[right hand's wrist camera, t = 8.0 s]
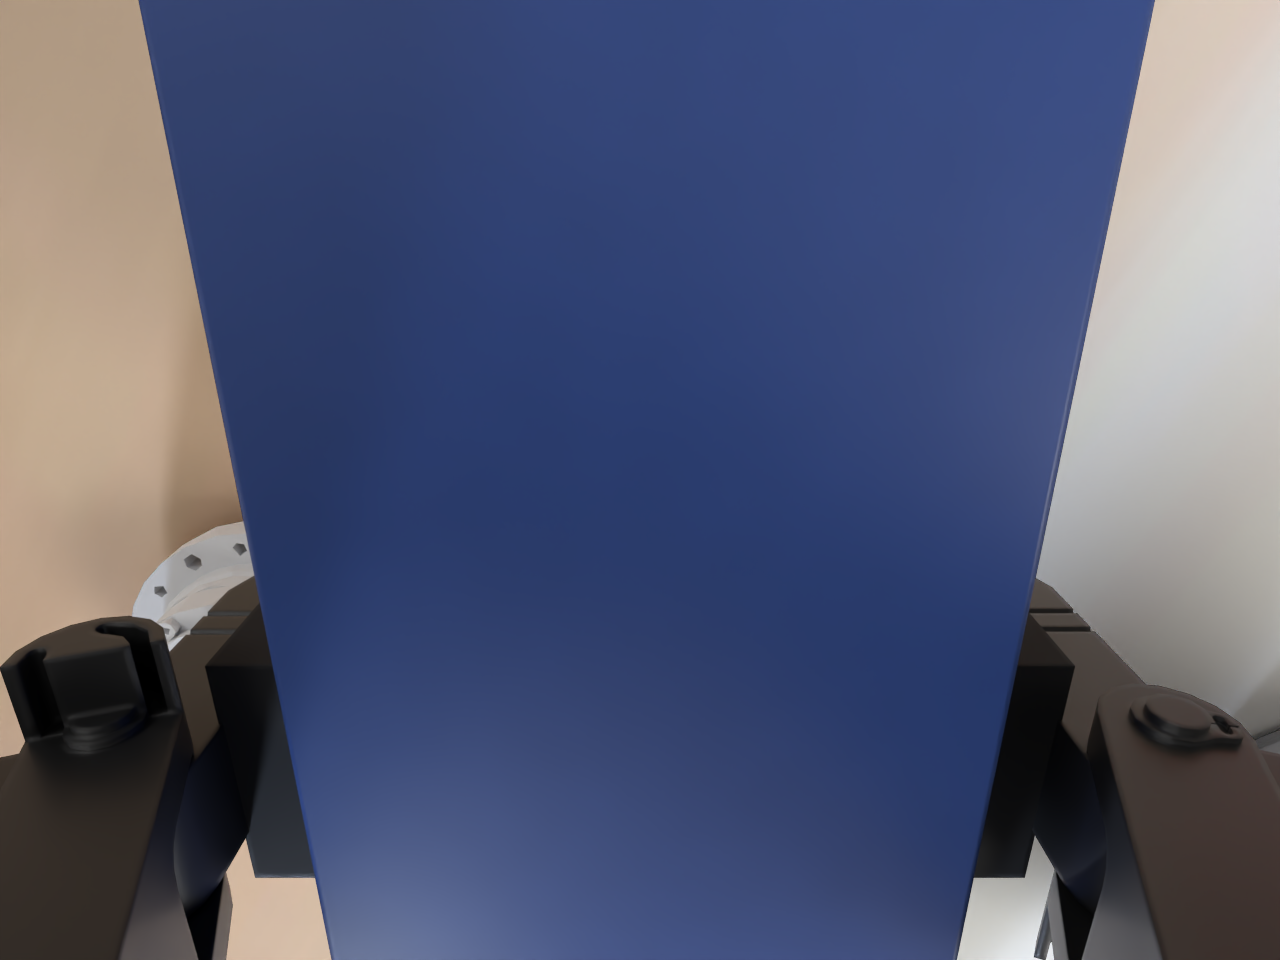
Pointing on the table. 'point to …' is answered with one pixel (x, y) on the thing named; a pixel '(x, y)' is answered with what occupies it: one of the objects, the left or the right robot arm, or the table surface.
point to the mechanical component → (195, 580)
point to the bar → (645, 441)
